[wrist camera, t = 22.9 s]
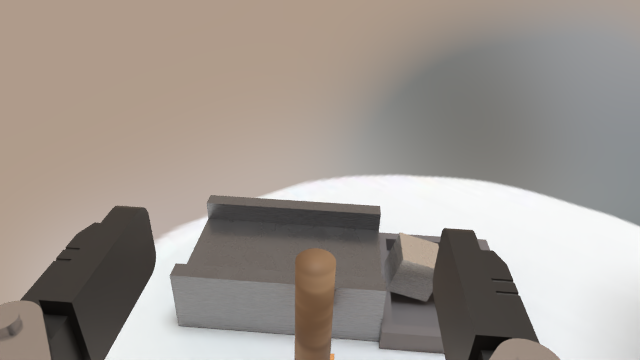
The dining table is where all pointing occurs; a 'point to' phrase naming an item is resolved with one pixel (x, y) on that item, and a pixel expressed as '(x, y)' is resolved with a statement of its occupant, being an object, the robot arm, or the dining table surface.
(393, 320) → the tray
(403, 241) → the chip
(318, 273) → the wooden post on base
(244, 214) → the slot board
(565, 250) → the dining table surface
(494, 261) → the robot arm
